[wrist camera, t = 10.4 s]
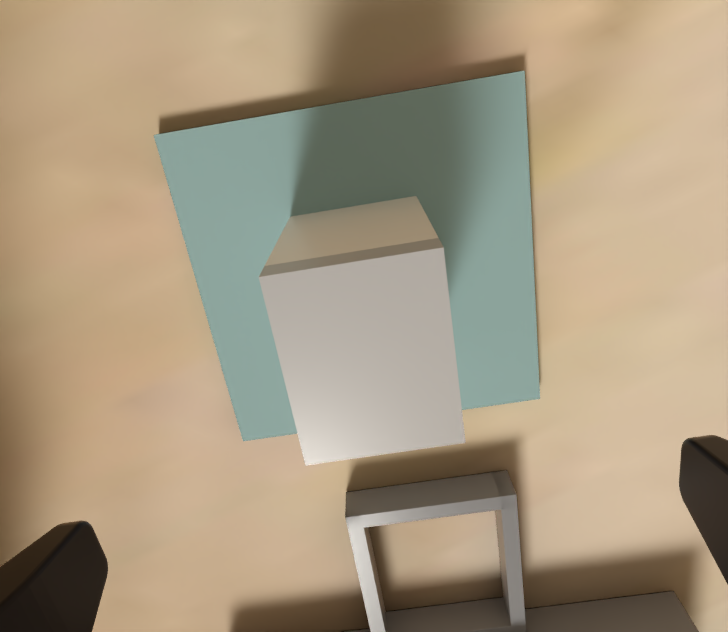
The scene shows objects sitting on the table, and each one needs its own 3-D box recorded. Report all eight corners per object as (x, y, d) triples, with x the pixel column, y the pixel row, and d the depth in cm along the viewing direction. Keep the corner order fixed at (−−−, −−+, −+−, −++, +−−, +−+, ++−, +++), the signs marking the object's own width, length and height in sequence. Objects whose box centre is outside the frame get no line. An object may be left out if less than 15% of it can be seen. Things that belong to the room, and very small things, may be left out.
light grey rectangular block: (320, 357, 19) (305, 465, 14) (290, 216, 18) (258, 277, 12) (434, 339, 19) (465, 442, 14) (416, 195, 17) (443, 247, 12)
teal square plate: (245, 434, 21) (243, 441, 21) (158, 134, 17) (153, 135, 17) (537, 393, 20) (540, 398, 20) (520, 71, 16) (524, 70, 16)
